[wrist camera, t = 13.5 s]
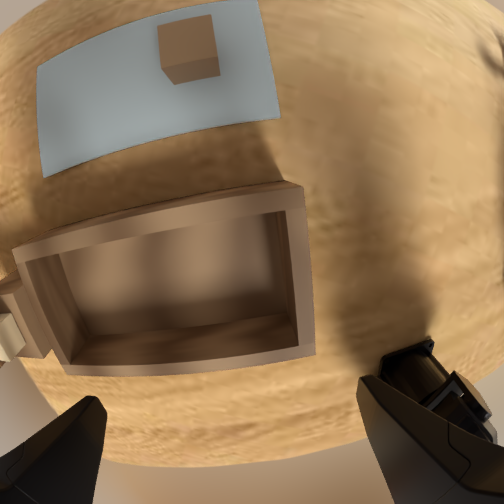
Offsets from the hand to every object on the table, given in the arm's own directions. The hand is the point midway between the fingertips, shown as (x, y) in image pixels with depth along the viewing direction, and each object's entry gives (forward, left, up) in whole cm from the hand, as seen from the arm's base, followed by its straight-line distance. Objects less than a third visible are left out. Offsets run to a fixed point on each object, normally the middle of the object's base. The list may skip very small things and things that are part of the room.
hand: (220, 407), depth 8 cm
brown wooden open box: (+7, 0, -12) cm, 14 cm away
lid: (+4, -14, -13) cm, 19 cm away
